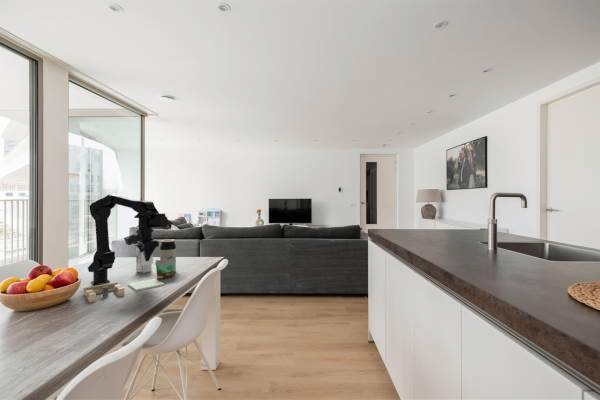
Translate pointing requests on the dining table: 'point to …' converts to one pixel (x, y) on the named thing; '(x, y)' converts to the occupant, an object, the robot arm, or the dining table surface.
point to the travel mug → (168, 250)
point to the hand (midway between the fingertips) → (145, 260)
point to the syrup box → (142, 267)
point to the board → (145, 284)
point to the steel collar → (142, 258)
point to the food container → (165, 268)
